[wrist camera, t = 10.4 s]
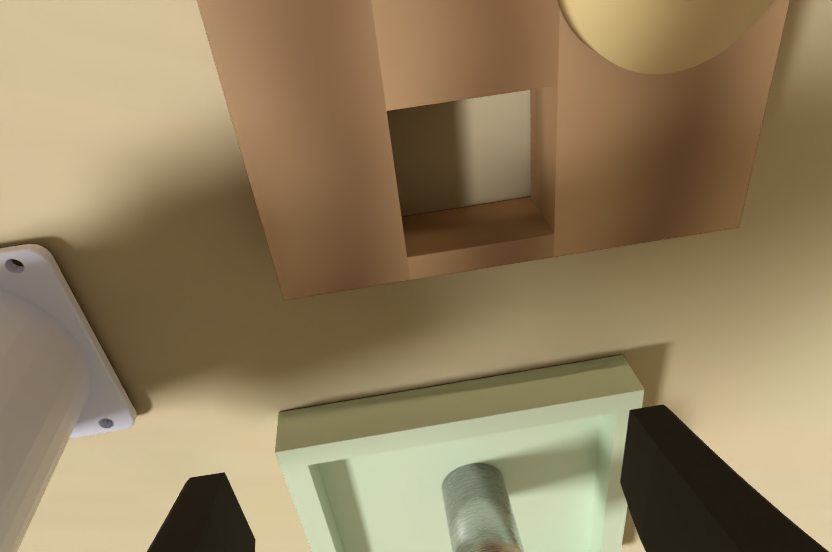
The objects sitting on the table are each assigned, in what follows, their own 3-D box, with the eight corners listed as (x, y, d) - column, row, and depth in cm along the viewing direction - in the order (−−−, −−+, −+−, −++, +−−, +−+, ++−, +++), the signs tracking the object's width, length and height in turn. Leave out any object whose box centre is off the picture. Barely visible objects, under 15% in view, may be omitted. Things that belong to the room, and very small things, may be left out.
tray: (341, 596, 32) (342, 636, 30) (278, 412, 24) (275, 452, 22) (601, 549, 32) (615, 586, 31) (623, 354, 24) (644, 389, 23)
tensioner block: (288, 256, 20) (280, 338, 16) (163, -203, 13) (102, -231, 10) (697, 191, 20) (775, 258, 17) (778, -280, 14) (936, -335, 10)
